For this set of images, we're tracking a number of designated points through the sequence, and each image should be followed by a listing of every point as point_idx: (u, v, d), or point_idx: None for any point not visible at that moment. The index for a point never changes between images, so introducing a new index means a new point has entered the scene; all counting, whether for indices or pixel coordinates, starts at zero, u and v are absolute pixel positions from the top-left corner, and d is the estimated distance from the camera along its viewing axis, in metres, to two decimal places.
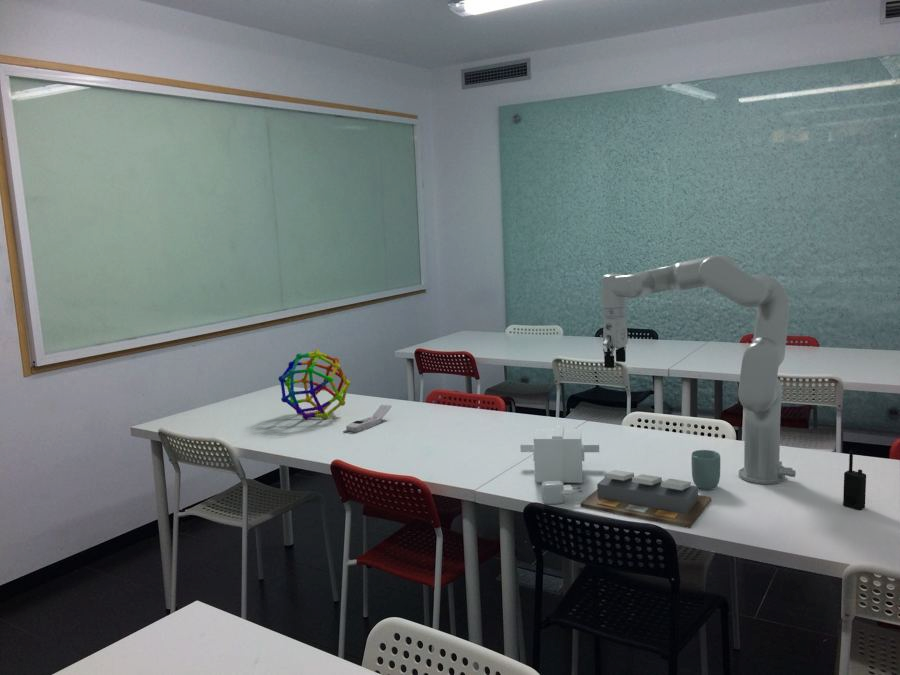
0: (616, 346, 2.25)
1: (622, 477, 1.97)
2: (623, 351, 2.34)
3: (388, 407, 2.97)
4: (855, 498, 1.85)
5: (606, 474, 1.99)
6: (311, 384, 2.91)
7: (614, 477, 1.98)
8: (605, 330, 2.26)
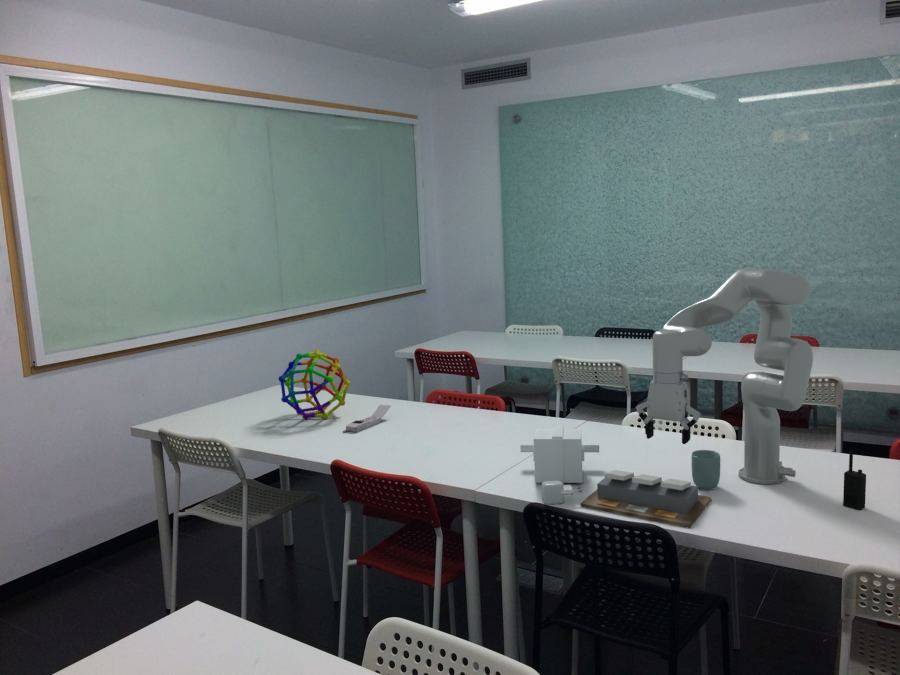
0: None
1: (622, 477, 1.97)
2: (652, 423, 1.93)
3: (387, 407, 2.97)
4: (855, 498, 1.85)
5: (606, 474, 1.99)
6: (311, 384, 2.91)
7: (614, 477, 1.98)
8: (684, 399, 1.84)
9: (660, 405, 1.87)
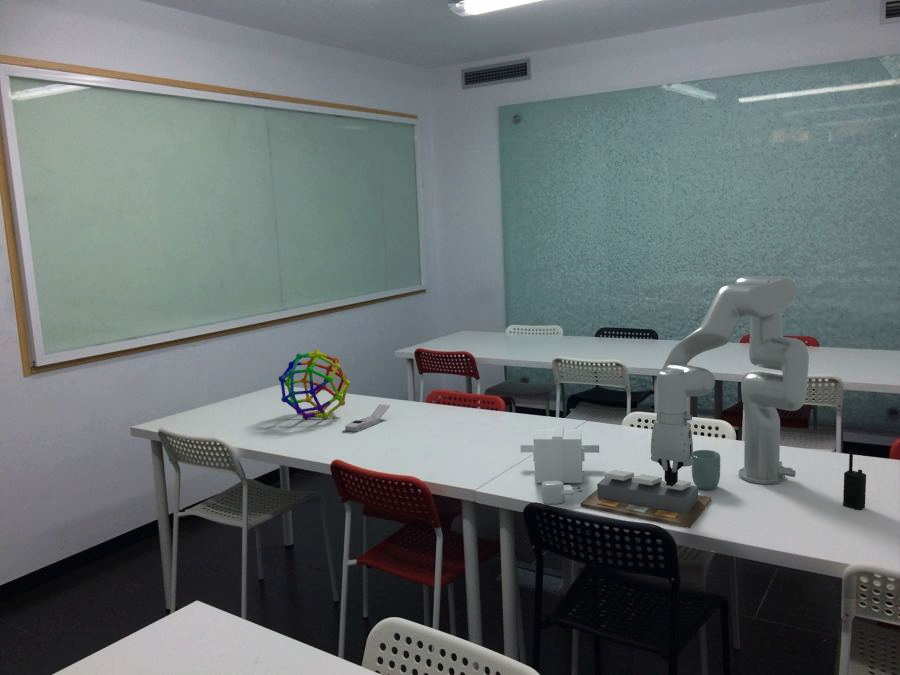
0: None
1: (622, 477, 1.97)
2: None
3: (386, 407, 2.98)
4: (855, 498, 1.85)
5: (606, 474, 1.99)
6: (311, 384, 2.91)
7: (614, 477, 1.98)
8: (688, 439, 1.83)
9: (664, 446, 1.86)
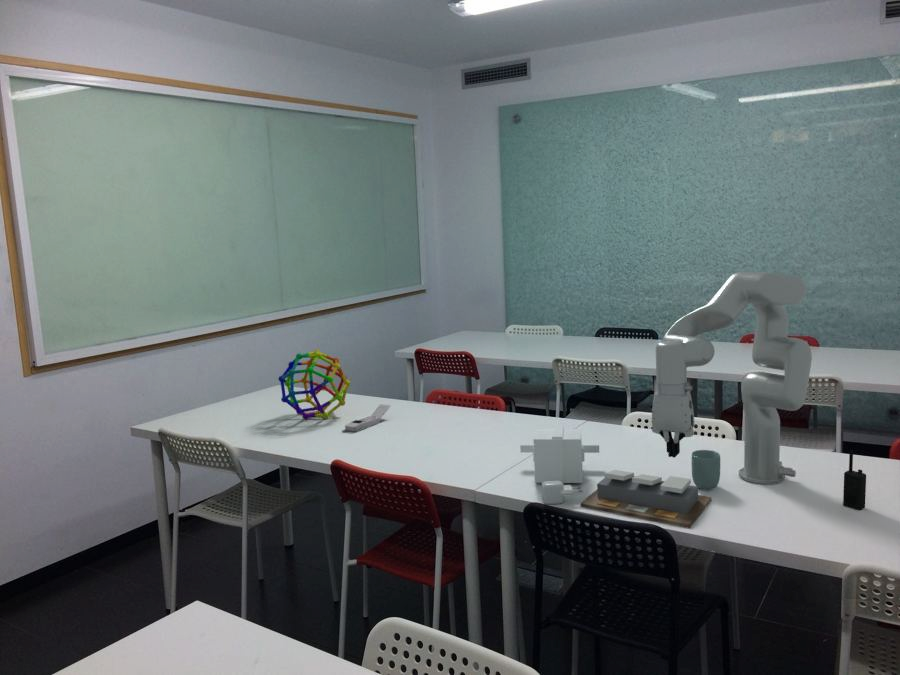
0: None
1: (622, 477, 1.97)
2: None
3: (387, 407, 2.98)
4: (855, 499, 1.85)
5: (606, 474, 1.99)
6: (311, 384, 2.91)
7: (614, 477, 1.98)
8: (689, 410, 1.83)
9: (665, 417, 1.85)
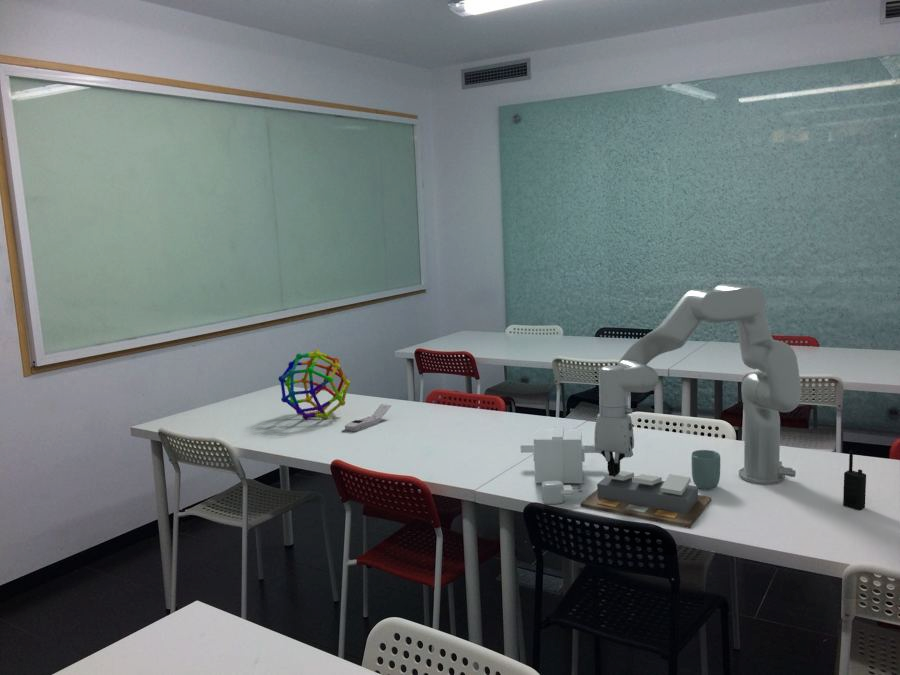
0: None
1: (622, 477, 1.97)
2: None
3: (387, 407, 2.98)
4: (855, 498, 1.85)
5: (606, 474, 1.99)
6: (311, 384, 2.91)
7: (614, 477, 1.98)
8: (628, 432, 1.93)
9: (607, 438, 1.95)
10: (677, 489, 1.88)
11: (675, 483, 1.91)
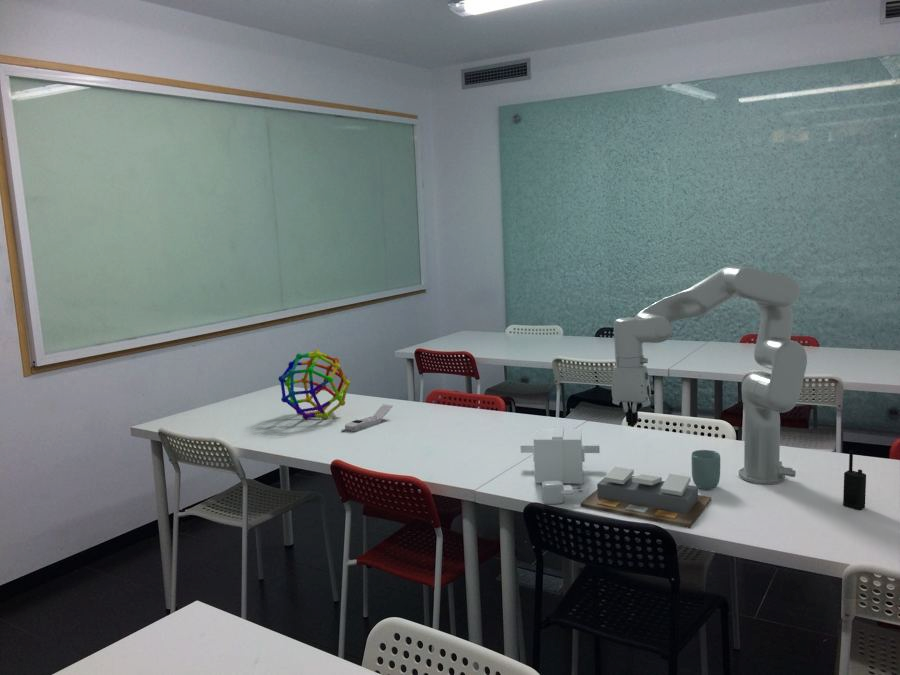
0: None
1: (622, 481, 1.97)
2: (632, 411, 2.03)
3: (389, 407, 2.97)
4: (855, 498, 1.85)
5: (606, 478, 1.99)
6: (311, 384, 2.91)
7: (614, 481, 1.98)
8: (645, 381, 1.97)
9: (624, 388, 1.99)
10: (677, 490, 1.88)
11: (675, 483, 1.91)
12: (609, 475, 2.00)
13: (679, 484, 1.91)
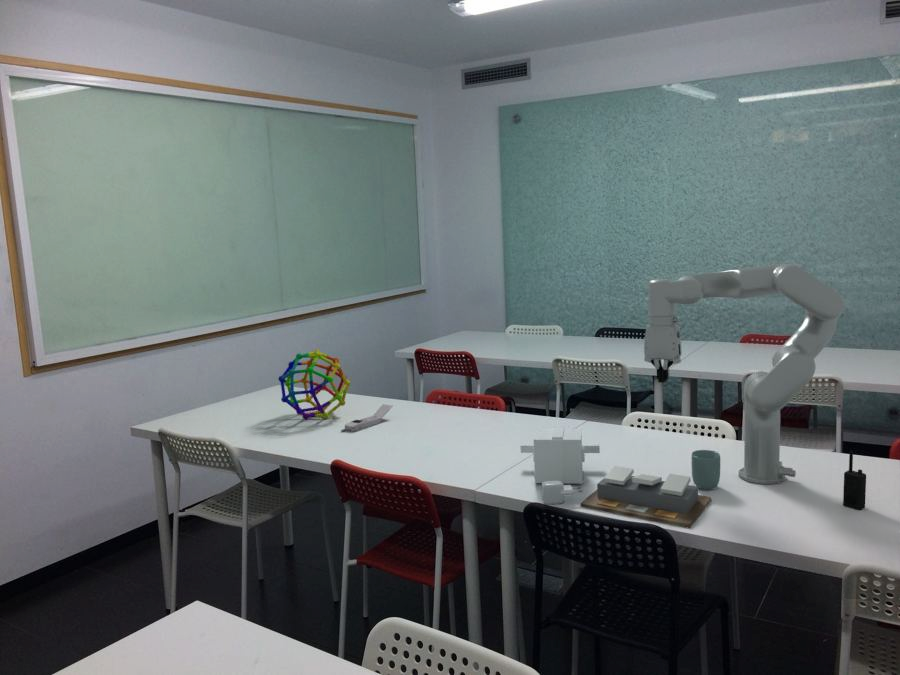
0: None
1: (622, 482, 1.97)
2: (663, 369, 2.14)
3: (389, 407, 2.97)
4: (855, 498, 1.85)
5: (606, 479, 1.99)
6: (311, 384, 2.91)
7: (614, 482, 1.98)
8: (677, 339, 2.07)
9: (656, 346, 2.10)
10: (677, 490, 1.88)
11: (675, 483, 1.91)
12: (609, 476, 2.00)
13: (679, 484, 1.91)
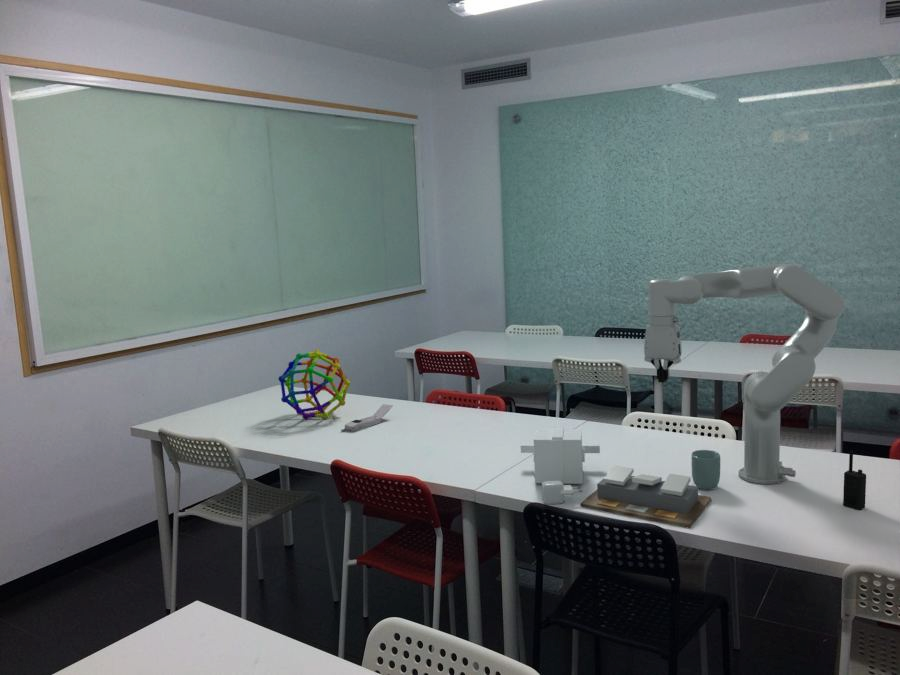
0: None
1: (622, 482, 1.97)
2: (663, 369, 2.14)
3: (389, 407, 2.97)
4: (855, 498, 1.85)
5: (606, 479, 1.99)
6: (311, 384, 2.91)
7: (614, 482, 1.98)
8: (677, 339, 2.07)
9: (656, 346, 2.10)
10: (677, 490, 1.88)
11: (675, 483, 1.91)
12: (609, 476, 2.00)
13: (679, 484, 1.91)
